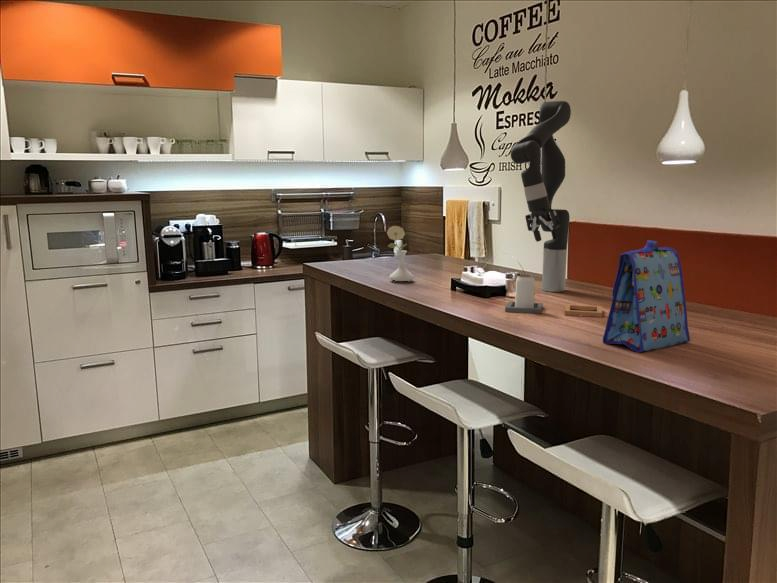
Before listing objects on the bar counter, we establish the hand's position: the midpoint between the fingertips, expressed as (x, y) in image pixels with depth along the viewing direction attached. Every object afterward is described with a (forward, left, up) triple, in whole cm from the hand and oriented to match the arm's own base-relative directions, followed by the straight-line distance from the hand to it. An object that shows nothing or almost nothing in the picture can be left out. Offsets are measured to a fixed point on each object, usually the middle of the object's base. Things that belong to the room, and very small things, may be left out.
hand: (547, 240), depth 236 cm
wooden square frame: (+14, +14, -23) cm, 30 cm away
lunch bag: (+52, +31, -24) cm, 65 cm away
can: (+14, -6, -24) cm, 28 cm away
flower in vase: (-34, -65, -24) cm, 77 cm away
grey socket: (+14, -6, -23) cm, 28 cm away
